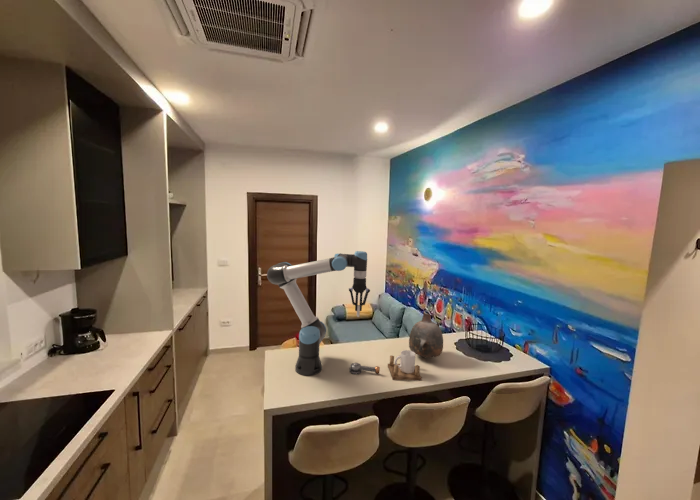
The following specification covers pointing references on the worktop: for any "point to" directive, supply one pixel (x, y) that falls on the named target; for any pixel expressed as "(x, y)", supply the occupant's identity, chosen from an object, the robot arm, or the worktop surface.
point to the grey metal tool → (364, 368)
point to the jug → (426, 338)
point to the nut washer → (355, 372)
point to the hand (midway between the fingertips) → (358, 316)
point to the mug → (406, 361)
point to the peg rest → (400, 375)
